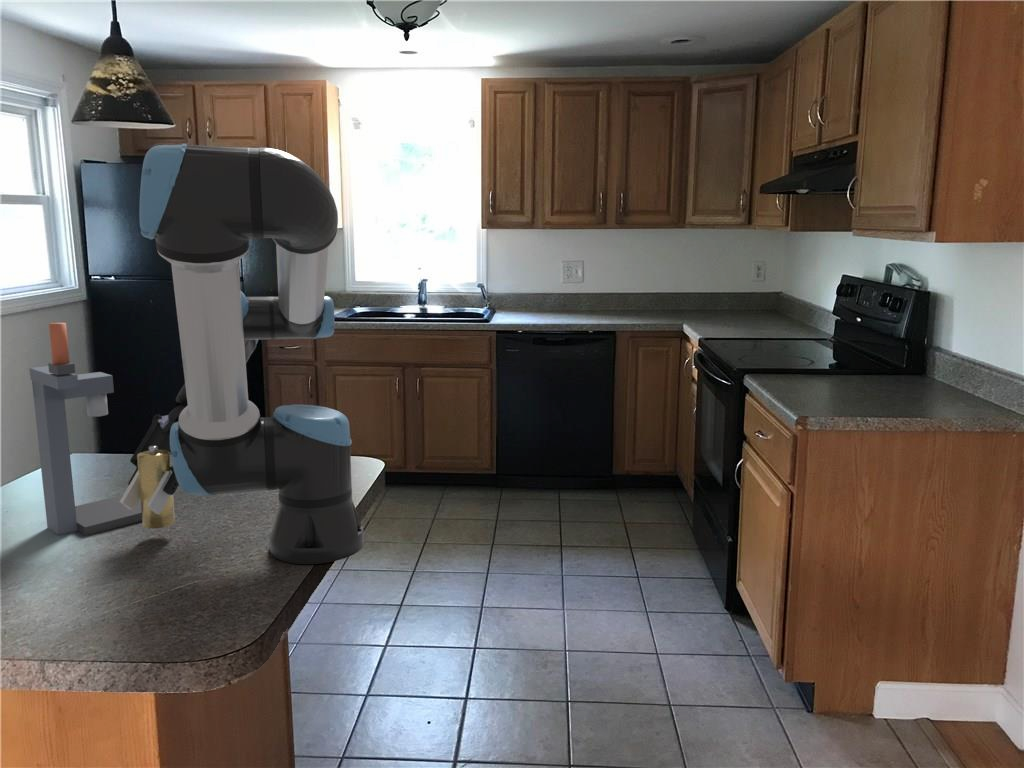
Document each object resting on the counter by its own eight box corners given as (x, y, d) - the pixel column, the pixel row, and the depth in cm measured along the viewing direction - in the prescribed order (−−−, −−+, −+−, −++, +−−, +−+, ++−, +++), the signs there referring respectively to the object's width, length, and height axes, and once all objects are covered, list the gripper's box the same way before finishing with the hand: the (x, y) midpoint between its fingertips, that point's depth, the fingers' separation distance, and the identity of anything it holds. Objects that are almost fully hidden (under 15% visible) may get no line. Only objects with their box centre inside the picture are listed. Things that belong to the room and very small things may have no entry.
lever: (75, 373, 128) (70, 323, 126) (57, 375, 126) (52, 325, 124) (66, 370, 130) (61, 321, 129) (49, 372, 128) (44, 323, 127)
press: (163, 521, 142) (151, 365, 137) (73, 545, 131) (57, 377, 126) (126, 501, 152) (114, 355, 146) (40, 522, 141) (23, 365, 135)
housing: (180, 522, 134) (175, 446, 132) (151, 530, 131) (145, 452, 128) (166, 515, 138) (161, 441, 135) (137, 523, 134) (131, 446, 132)
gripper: (257, 407, 142) (196, 525, 130) (178, 399, 148) (112, 511, 136) (235, 382, 136) (169, 504, 124) (153, 375, 143) (83, 490, 130)
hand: (139, 507), depth 130 cm, fingers closed on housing, 5 cm apart
